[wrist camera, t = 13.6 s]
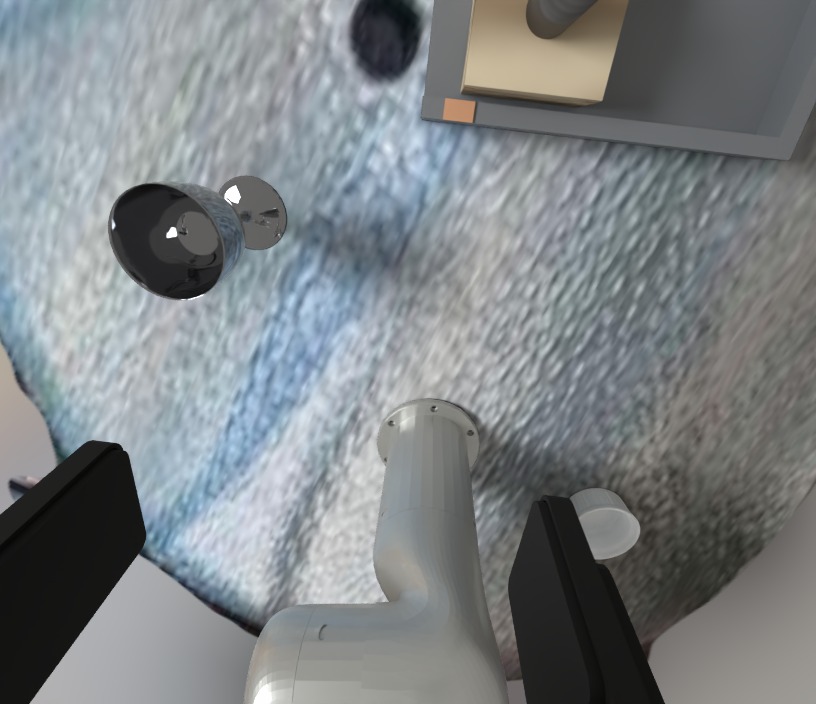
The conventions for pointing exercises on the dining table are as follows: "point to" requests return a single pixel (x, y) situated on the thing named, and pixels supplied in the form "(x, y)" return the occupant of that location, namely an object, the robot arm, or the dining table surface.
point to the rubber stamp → (542, 50)
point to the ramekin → (605, 522)
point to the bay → (662, 79)
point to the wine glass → (192, 232)
